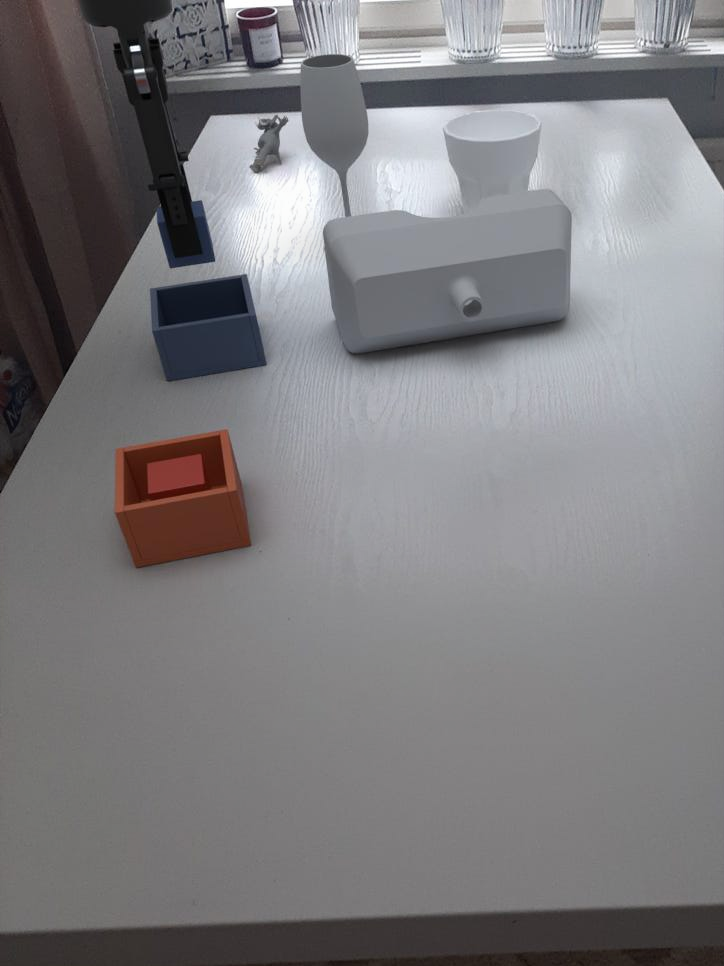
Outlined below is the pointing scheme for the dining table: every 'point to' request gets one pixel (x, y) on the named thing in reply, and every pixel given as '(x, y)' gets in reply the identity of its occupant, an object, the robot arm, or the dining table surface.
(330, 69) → the wineglass
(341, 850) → the dining table surface
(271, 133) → the elephant figurine
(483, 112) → the cup
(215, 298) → the slate bin
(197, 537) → the terracotta bin
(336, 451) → the dining table surface
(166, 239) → the blue block
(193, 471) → the red block
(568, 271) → the tank
